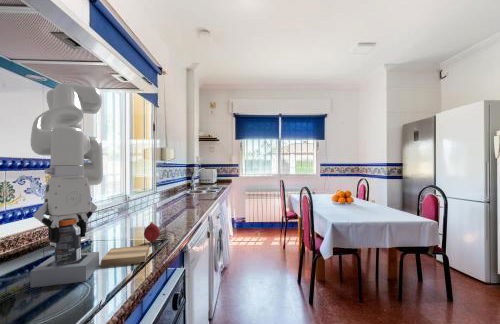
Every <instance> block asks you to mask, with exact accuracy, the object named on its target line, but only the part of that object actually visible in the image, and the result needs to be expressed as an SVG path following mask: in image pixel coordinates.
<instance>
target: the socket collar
mask: <svg viewBox="0 0 500 324" xmlns="http://www.w3.org/2000/svg"><path fill="white" fill-rule="evenodd" d="M99 266H100V251H92V252H90V251H89V252H81V259H80V260H78V261H76V262H73V263H68V264H56V263H55V255H52V256H50V257H49V258H48V259H46V260H44V261H43V262H41V263H40V264H38V265H37V266H36V267H34V268H33V269H31V270H30V274H29V275H30V279H29V280H30V283H29V284H30V286H29V287H30V288H40V287H48V286H50V287H51V286H58V285H65V284H73V283H83V282H87V281H88V280H89V278H90V277H91V276H92V274H94V272H95V271H96V270H97V268H98V267H99Z"/></svg>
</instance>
